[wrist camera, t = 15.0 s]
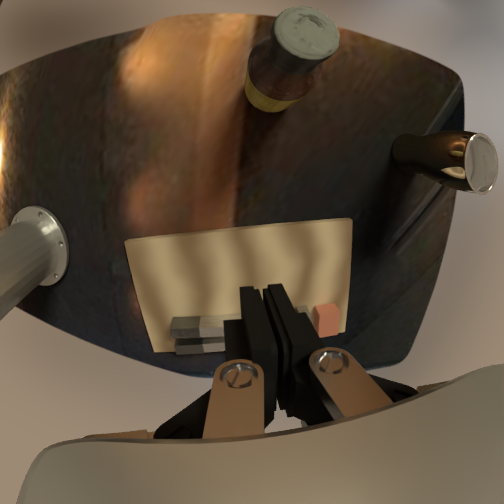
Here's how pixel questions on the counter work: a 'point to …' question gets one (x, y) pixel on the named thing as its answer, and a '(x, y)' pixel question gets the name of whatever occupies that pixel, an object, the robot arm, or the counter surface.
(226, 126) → the counter surface
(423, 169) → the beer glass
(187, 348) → the base
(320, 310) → the tab
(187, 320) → the tong jaw
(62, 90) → the counter surface
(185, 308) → the board
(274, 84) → the sauce bottle
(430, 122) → the counter surface
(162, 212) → the counter surface
